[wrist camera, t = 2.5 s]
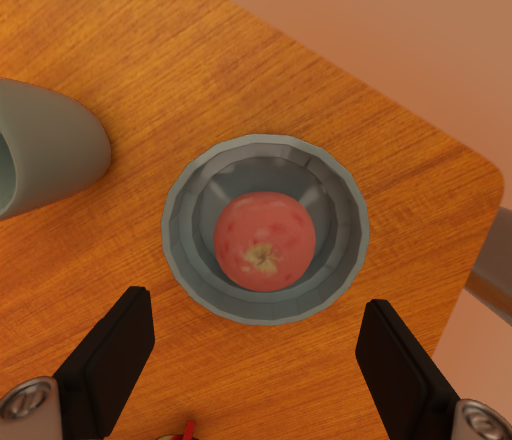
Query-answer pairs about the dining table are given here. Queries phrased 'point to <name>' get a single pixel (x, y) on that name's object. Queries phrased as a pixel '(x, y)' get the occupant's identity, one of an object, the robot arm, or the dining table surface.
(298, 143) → the bowl
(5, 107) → the cup
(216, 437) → the dining table surface
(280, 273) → the apple
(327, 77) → the dining table surface
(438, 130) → the dining table surface
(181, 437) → the mug
